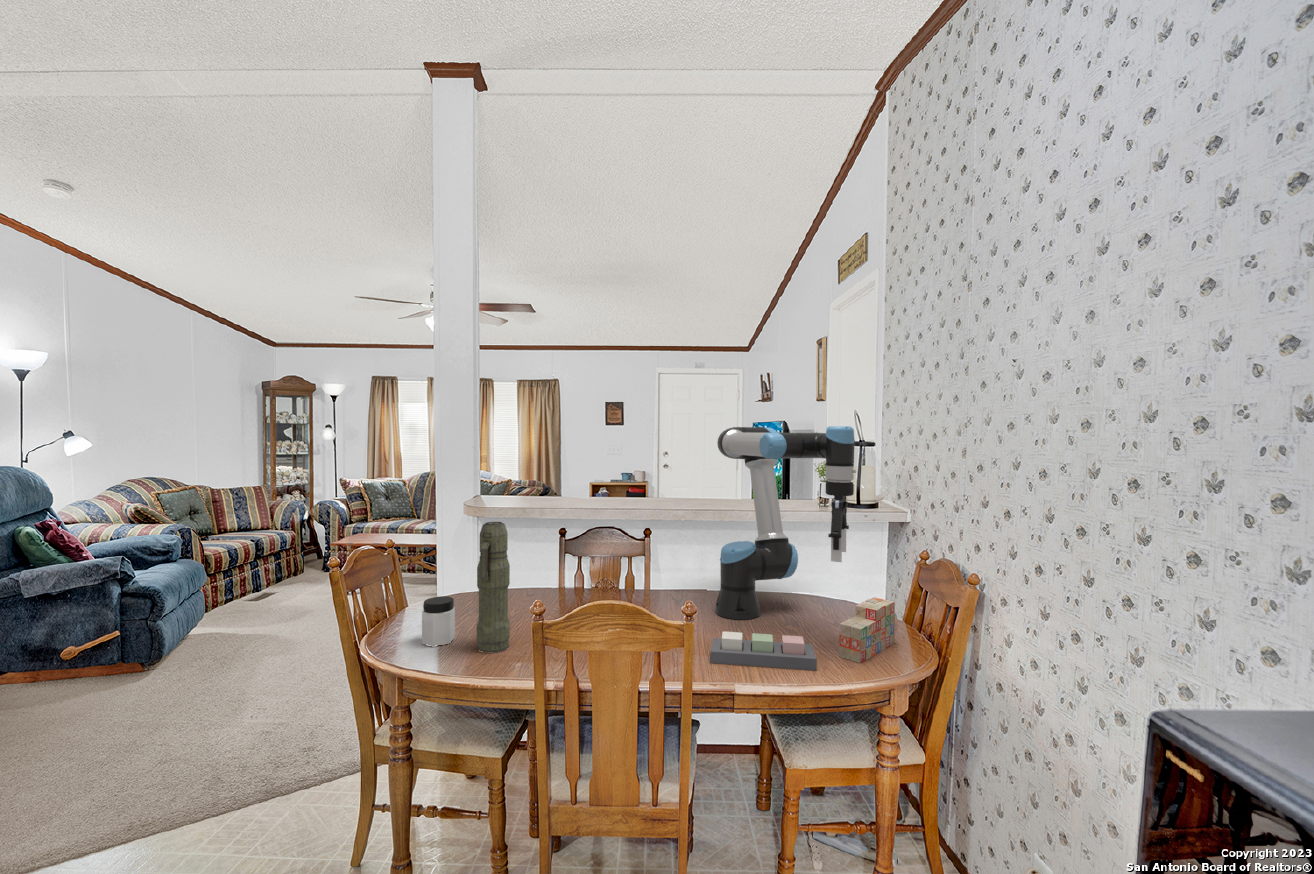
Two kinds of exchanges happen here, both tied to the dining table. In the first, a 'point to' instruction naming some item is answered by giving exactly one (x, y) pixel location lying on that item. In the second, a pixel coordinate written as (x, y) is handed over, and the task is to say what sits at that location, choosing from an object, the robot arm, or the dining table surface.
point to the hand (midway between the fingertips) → (838, 556)
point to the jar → (438, 620)
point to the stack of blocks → (867, 630)
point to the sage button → (762, 643)
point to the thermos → (493, 588)
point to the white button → (732, 641)
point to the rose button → (792, 645)
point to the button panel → (763, 656)
